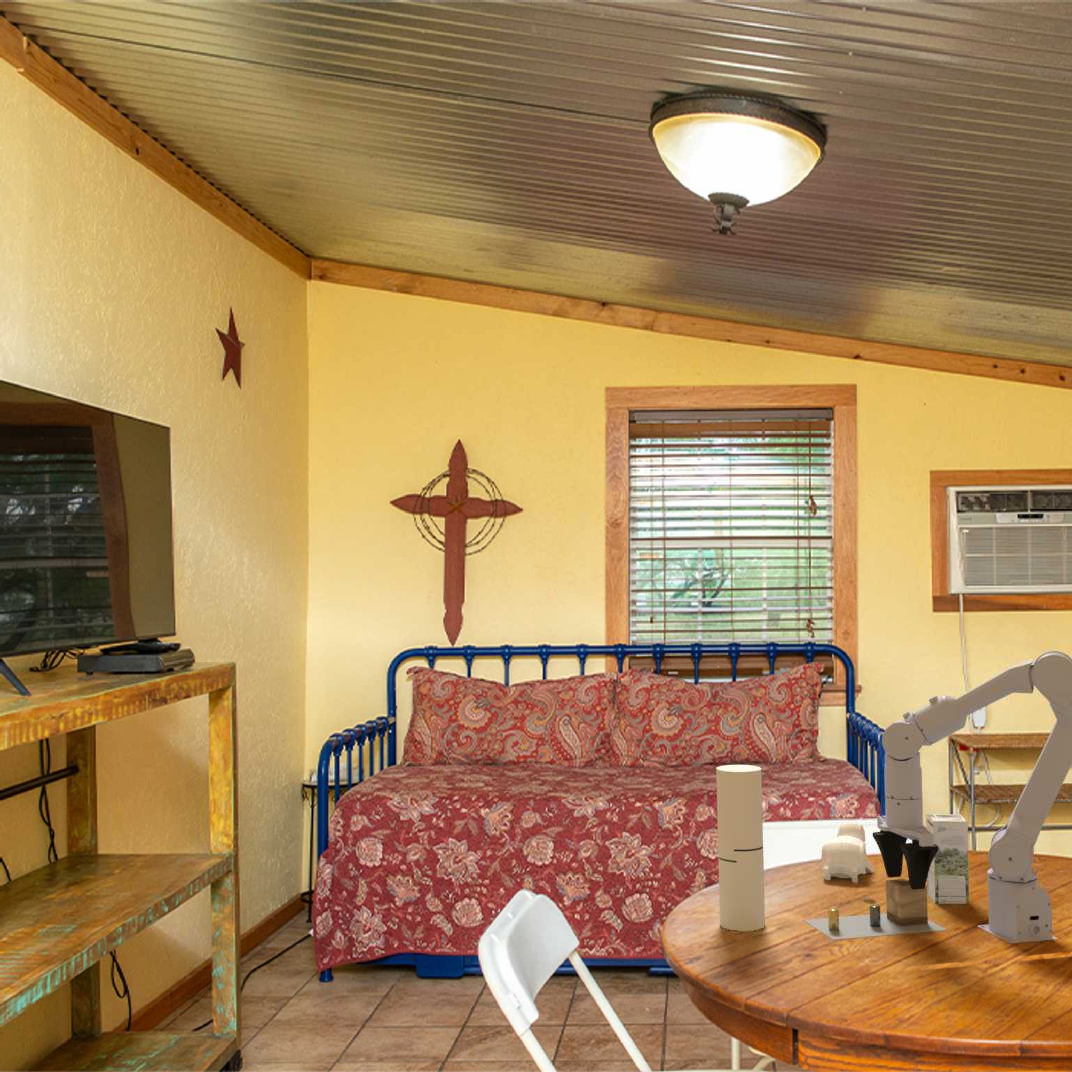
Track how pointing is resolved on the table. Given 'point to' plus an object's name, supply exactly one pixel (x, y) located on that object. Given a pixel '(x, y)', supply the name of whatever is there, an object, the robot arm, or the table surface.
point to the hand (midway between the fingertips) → (905, 882)
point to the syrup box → (949, 859)
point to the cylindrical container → (740, 847)
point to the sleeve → (906, 903)
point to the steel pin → (875, 916)
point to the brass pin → (833, 919)
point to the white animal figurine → (846, 853)
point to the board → (868, 927)
